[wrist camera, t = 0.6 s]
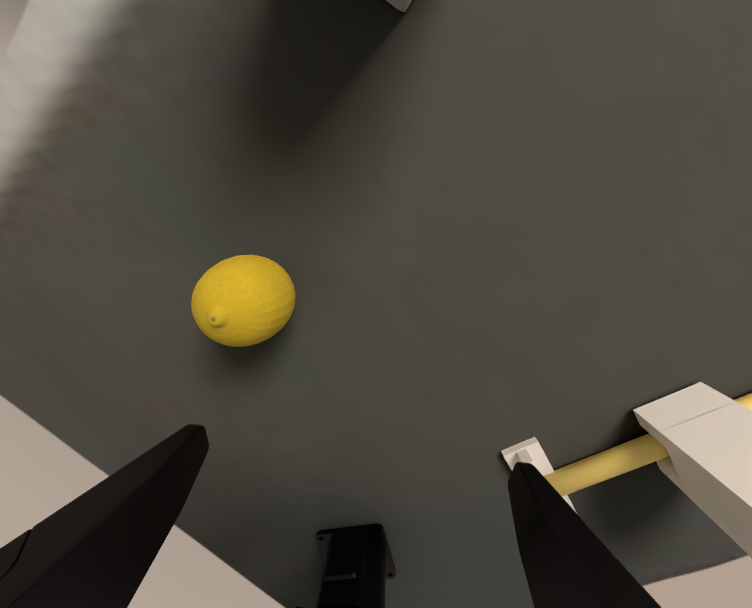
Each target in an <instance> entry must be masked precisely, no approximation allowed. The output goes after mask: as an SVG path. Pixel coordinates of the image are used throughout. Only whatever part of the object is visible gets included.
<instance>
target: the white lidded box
mask: <svg viewBox="0 0 752 608" xmlns="http://www.w3.org/2000/svg"><path fill="white" fill-rule="evenodd" d="M633 411H634V413H635V415H636V418H637V420H638V422H639V424H640V426H641V427H643V428H644V429H645V430H646V431H647V432H648V433H650V434H651V435H652V436H653V437H654V438H655V439H657V440H658V441H659V442H660V443H661V444H662V445H664V446H665V447H666V449H667V451H668V453H669V455H670V456H669V457H666V458H663V459H661V460H658V461H656V462H657V464H658V467H659V469H660V470H661V471H662V472H663V473H664V474H665V475H666V476H667V477H668V478H669V479H670V480H671V481H672V482H673V483H674V484H676V485H677V486H678V487H679V488H680V489H681V490H682V491H683V492H684V493H685V494H686V495H687V496H688V497H689V498H690V499H691V500H692V501H693V502H694V503H695V504H696V505H697V506H698V507H699V508H700V509H701V510H703V511H704V512H705V513H706V514H707V515H708V516H709V517H710V518H711V519H712V520H713V521H714V522H715V523H716V524H717V525H718V526H719V527H720V528H721V529H722V530H723V531H724V532H725V533H726V534H727V535H728V536H730V537H731V538H732V539H733V540H734V541H735V542H736V543H737V544H738V545H739V546H740V547H741V548H742V549H743V550H744V551H745V552H746V553H747V554H748V555H749V556H750V557H751V558H752V410H751V409H749V408H747V407H745V406H743V405H742V404H740V403H738V402H736V401H734V400H733V399H731V398H729V397H727V396H725V395H723V394H722V393H720V392H718V391H716V390H714V389H712V388H711V387H709V386H707V385H705V384H703V383H702V382H699V383H697V384H694V385H692V386H689V387H687V388H685V389H682V390H680V391H677V392H675V393H672V394H670V395H668V396H665V397H663V398H660V399H658V400H655V401H653V402H651V403H648V404H646V405H643V406H641V407H638V408H636V409H633Z"/></svg>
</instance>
